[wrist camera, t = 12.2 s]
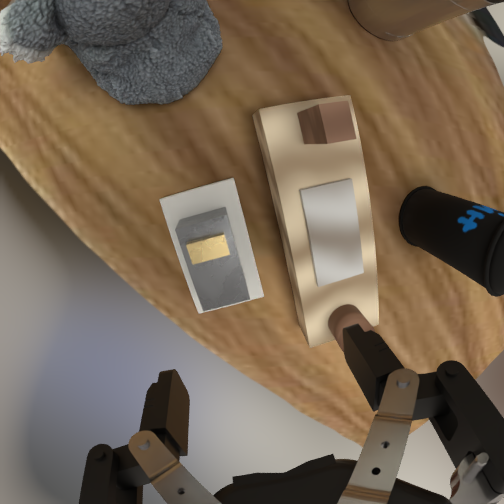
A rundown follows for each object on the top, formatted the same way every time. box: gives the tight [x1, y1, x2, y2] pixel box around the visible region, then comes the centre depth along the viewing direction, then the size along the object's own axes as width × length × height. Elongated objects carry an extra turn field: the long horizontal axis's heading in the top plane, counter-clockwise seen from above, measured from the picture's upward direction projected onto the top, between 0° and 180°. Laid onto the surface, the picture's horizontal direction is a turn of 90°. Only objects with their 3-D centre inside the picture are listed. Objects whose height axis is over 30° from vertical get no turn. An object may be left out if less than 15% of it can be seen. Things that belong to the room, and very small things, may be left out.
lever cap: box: [175, 207, 250, 311], centre depth 30 cm, size 9×5×5 cm, turn 14°
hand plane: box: [252, 95, 379, 352], centre depth 29 cm, size 26×9×11 cm, turn 14°
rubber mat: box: [160, 178, 264, 313], centre depth 33 cm, size 14×8×1 cm, turn 14°
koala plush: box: [0, 0, 222, 105], centre depth 16 cm, size 17×18×20 cm
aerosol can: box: [399, 186, 504, 297], centre depth 26 cm, size 8×8×20 cm
